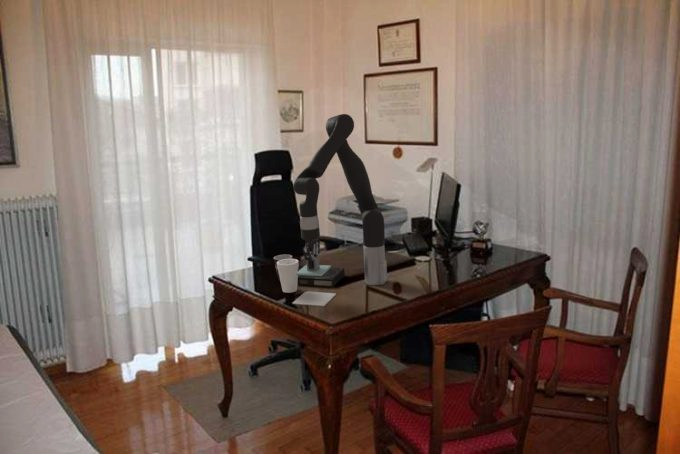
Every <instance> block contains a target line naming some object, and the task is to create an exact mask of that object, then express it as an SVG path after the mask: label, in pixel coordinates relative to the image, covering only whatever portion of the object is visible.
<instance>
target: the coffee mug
mask: <svg viewBox="0 0 680 454" xmlns="http://www.w3.org/2000/svg"><path fill="white" fill-rule="evenodd" d="M283 259H293V255H291V254H279V255H276V256H274V257H273V260H274V261H273V262H274V266H275V270H276V271H275V272H276V277H277V279H278V280H280V277H279V272H278V269H277V262H278V261H279V260H283Z"/></svg>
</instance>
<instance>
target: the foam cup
mask: <svg viewBox="0 0 680 454" xmlns="http://www.w3.org/2000/svg"><path fill="white" fill-rule="evenodd" d="M299 266H300V265H299V259H296V258H292V259H283V260H279V261H278V262H277V269H278V272H279V277H280V279H279V281H280V285H281V289H282V292H283V293H285V294H286V293H288V294H290V293H295V292H297V291H298V284H297V281H298V277H299V275H296V273H297V272H298V271H299V268H300V267H299Z"/></svg>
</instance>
